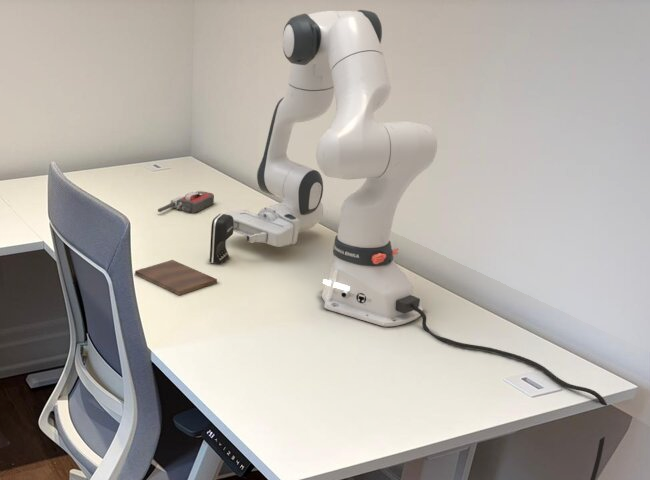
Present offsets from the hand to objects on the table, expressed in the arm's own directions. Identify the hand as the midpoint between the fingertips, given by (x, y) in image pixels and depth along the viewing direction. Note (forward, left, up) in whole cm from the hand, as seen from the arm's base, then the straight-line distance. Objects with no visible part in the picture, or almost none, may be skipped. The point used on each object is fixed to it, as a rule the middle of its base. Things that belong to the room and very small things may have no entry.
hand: (235, 234), depth 213 cm
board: (-2, +21, -6) cm, 22 cm away
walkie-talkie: (+36, -17, -6) cm, 40 cm away
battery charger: (0, +4, -6) cm, 8 cm away
